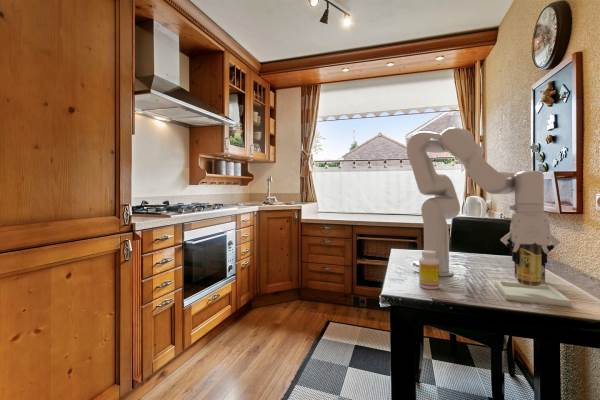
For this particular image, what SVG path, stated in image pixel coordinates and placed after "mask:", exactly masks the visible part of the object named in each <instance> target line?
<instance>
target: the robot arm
mask: <svg viewBox="0 0 600 400" xmlns="http://www.w3.org/2000/svg"><path fill="white" fill-rule="evenodd" d="M428 153H433V154H434V153H436V154H440V153H450V154H451V155H452V156H453V157H454V158H456V160H458V161H459V163H461V164H462V165H463V168H464V171H465V172H466V174H467V176H468V177H469V179H471V180H472V182H474V184H476V186H478V187H479V188H480V189H482V190H483V191H484V192H486V193H487V194H490V195H509V194H514V204H513V205H509V210H510V211H514V212H513V213H512V215H511V219H510V226H509V232H508V233H507V234H505V235H504V236H503V237H501V238H500V242H502V244H504V245H505V246H506V247H507V248H508V249H510V251H511V260H512V262H513V263H514V265H515V264H519V252H518V248H519V246H520V244H521V245H529V244H534V243H536V244H537V245H541V246H542V250H541V254H542V266H545V267H546V264H548V254H549V253H550V252H551V251H552V250H554V249H555V247H557V246H558V245H560V243H561V241H560V240H558V239H557V238H556V237H554V235H552V234H551V233H552V232H551V225H550V220H549V216H548V213H544V212H545V188H544V187H545V184H544V183H545V182H544V181H545V180H544V179H545V175H544V173H543V172H542V171H540V170H524V171H518V172H508V171H507V172H505V171H497V169H495V168H494V167H493V166H491V165H490V164H489V163H488V162H487V161H486V160H485V158H484V153H485V150H484V148H483V147H482V146H481V145H480V144H478V143H477V142H476V141H475V136H474V134H473V133H472V132H471V131H470V130H468V129H466V128H460V127H455V126H454V127H448V128H446V129H445V130H443V131H442V132H441V133H440V132H433V131H425V130H424V131H417V132H415V133H413V134H412V135H411V137H410V138H409V140H408V141H407V145H406V155H407V158H408V161H409V163H410V165H411V169H412V173H413V176H414V178H415V182H416V185H417V188H418V190H419V193H420V194H421V195H423V196H428V197H429V196H434V197H431V198H428V199H426V200H424V202H423V203H422V204H421V205H422V206H421V208H420V209H421V216H422V222H423V245H424V246H423V251H424V250H430V251H435V252H436V256H435V258H436V259H438V261H439V277H451V276H453V275H454V270H453V269H451V268H450V231H449V226H448V222H447V220H450V219H454V218H456V217H458V215H459V213H460V211H461V205H460V201H459V197H458V195H457V192H456V189H455V186H454V184H453V182H452V179H451V178H450V177H449V176H447V175H446V174H444V173H437V172H436V169H435V167H434V163H433V161H432V159H431V157H430V156H429V155H428ZM508 240H510V242H512V244H511V243H510V242H509V241H508ZM412 266H414V267H415V268H419V261H415V260H414V261H412Z"/></svg>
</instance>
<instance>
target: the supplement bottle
mask: <svg viewBox="0 0 600 400" xmlns="http://www.w3.org/2000/svg"><path fill="white" fill-rule="evenodd" d="M421 255H422V257H420V258H419V260H418V262H419V267H418V284H419V286H420V288H422V289H426V290H437V289H439V288H440V276H439V261H438V259H436V258H435V256H436V252H435V251H430V250H424V249H423V250H422V251H421Z"/></svg>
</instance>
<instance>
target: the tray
mask: <svg viewBox="0 0 600 400" xmlns="http://www.w3.org/2000/svg"><path fill="white" fill-rule="evenodd" d="M494 286H495V288H496V289H497V290H498V291H499V293H500V295H502V297H503V299H505V301H511V302H519V303H530V304H538V305H539V304H540V305H549V306H559V307H568V308H569V307H570V308H571V307H572V301H571V299H570V298H568V297H567V296H565V294H563V293H561V292H560V291H559V290H557V289H556V288H555V287H554V286H552V285H551V284H546V283H545V284H540V285H539V286H528V285H524V284H521V283H519V282H518V281H508V280H498V279H497V280H496V279H495V280H494Z"/></svg>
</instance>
